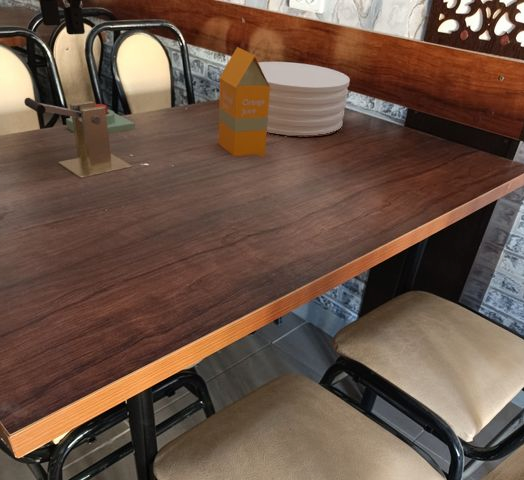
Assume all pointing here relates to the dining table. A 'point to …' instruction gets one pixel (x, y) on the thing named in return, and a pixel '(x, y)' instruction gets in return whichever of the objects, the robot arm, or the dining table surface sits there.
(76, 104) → the bracket
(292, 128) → the plate stack
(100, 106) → the stop button
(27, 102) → the lever
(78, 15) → the robot arm
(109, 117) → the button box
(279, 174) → the dining table surface
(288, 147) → the dining table surface
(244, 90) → the orange juice
